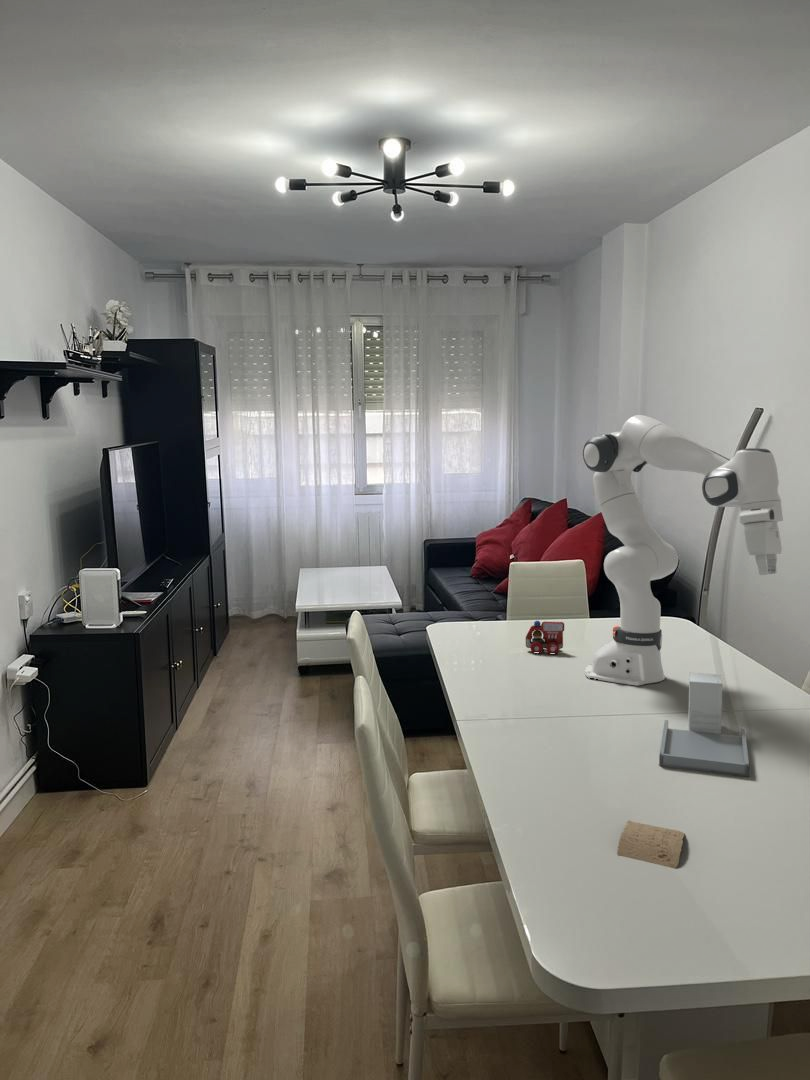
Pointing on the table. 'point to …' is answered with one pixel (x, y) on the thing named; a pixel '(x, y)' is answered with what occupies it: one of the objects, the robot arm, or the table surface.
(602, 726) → the table surface
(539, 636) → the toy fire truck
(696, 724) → the supplement box
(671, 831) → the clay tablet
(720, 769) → the tray
